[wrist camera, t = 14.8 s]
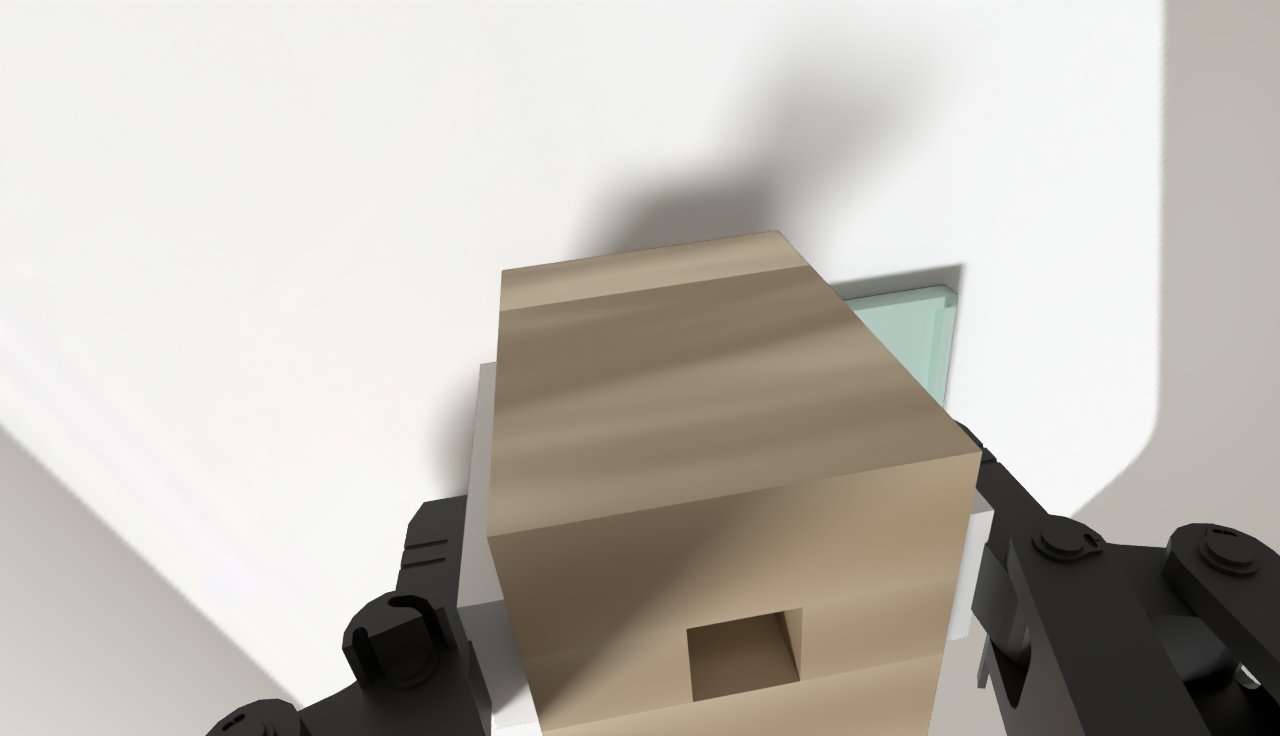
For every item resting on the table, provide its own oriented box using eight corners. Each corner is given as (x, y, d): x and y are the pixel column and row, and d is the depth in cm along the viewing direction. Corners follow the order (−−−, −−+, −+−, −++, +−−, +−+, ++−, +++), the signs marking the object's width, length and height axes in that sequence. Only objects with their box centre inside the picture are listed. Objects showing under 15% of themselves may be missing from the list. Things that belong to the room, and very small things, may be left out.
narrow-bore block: (501, 270, 15) (486, 536, 8) (777, 230, 15) (982, 451, 9) (548, 487, 18) (564, 813, 11) (776, 449, 19) (926, 739, 12)
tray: (708, 321, 33) (714, 332, 32) (944, 284, 34) (958, 294, 33) (719, 510, 39) (724, 525, 38) (921, 474, 40) (931, 488, 39)
